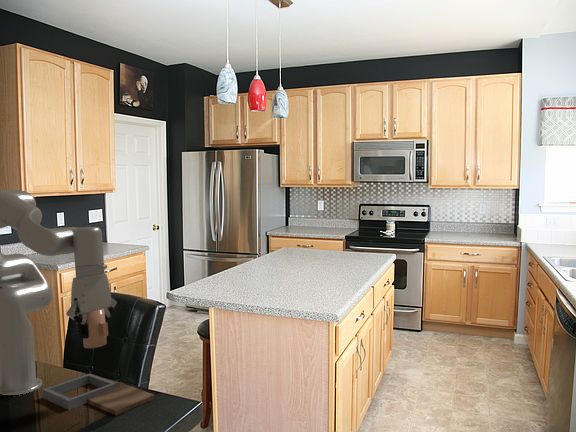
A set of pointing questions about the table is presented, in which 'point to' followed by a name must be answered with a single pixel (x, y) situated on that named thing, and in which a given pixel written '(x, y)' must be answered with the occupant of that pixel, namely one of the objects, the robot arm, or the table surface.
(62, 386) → the holder frame
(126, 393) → the board
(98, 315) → the tan tapered capsule
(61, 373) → the table surface
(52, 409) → the table surface
